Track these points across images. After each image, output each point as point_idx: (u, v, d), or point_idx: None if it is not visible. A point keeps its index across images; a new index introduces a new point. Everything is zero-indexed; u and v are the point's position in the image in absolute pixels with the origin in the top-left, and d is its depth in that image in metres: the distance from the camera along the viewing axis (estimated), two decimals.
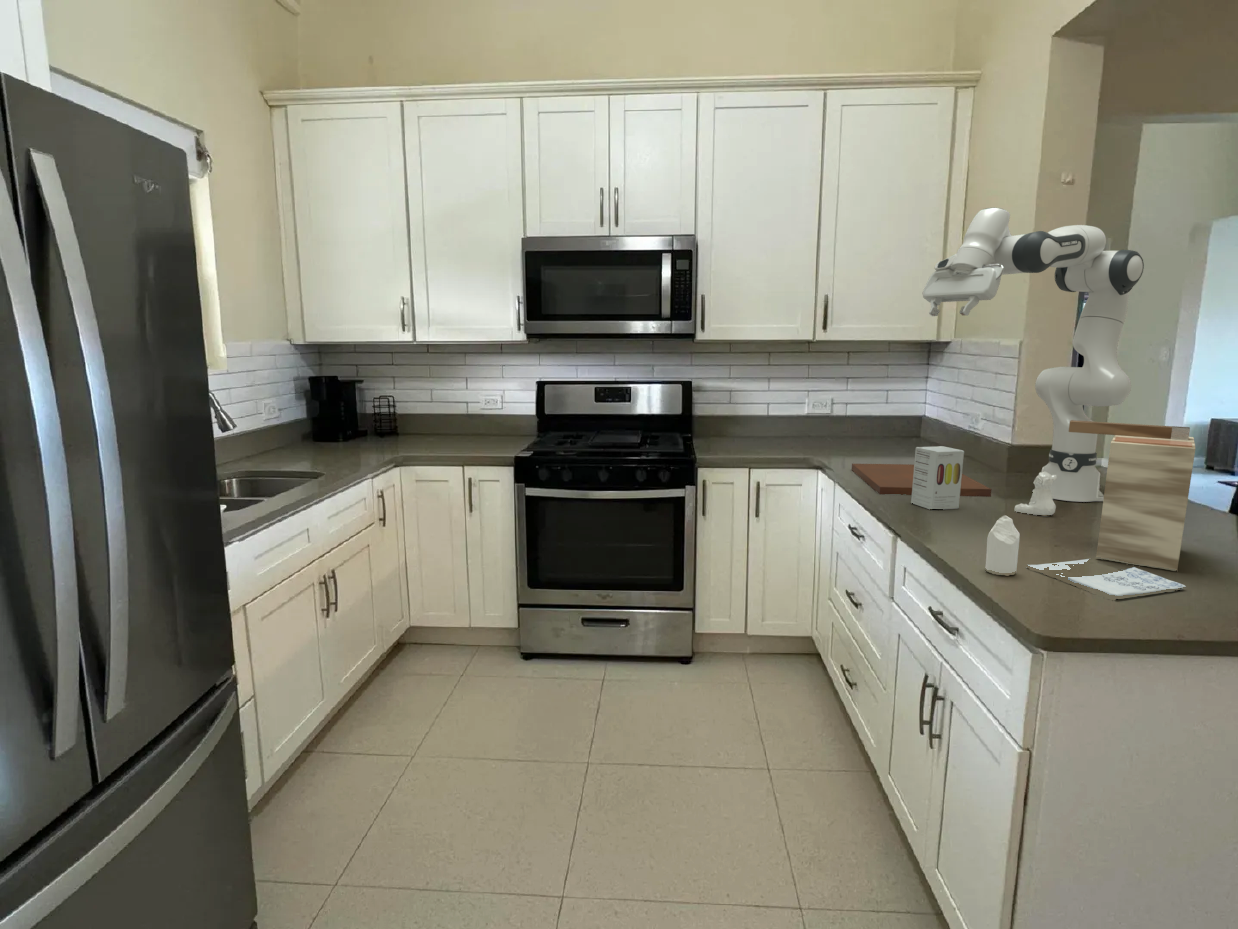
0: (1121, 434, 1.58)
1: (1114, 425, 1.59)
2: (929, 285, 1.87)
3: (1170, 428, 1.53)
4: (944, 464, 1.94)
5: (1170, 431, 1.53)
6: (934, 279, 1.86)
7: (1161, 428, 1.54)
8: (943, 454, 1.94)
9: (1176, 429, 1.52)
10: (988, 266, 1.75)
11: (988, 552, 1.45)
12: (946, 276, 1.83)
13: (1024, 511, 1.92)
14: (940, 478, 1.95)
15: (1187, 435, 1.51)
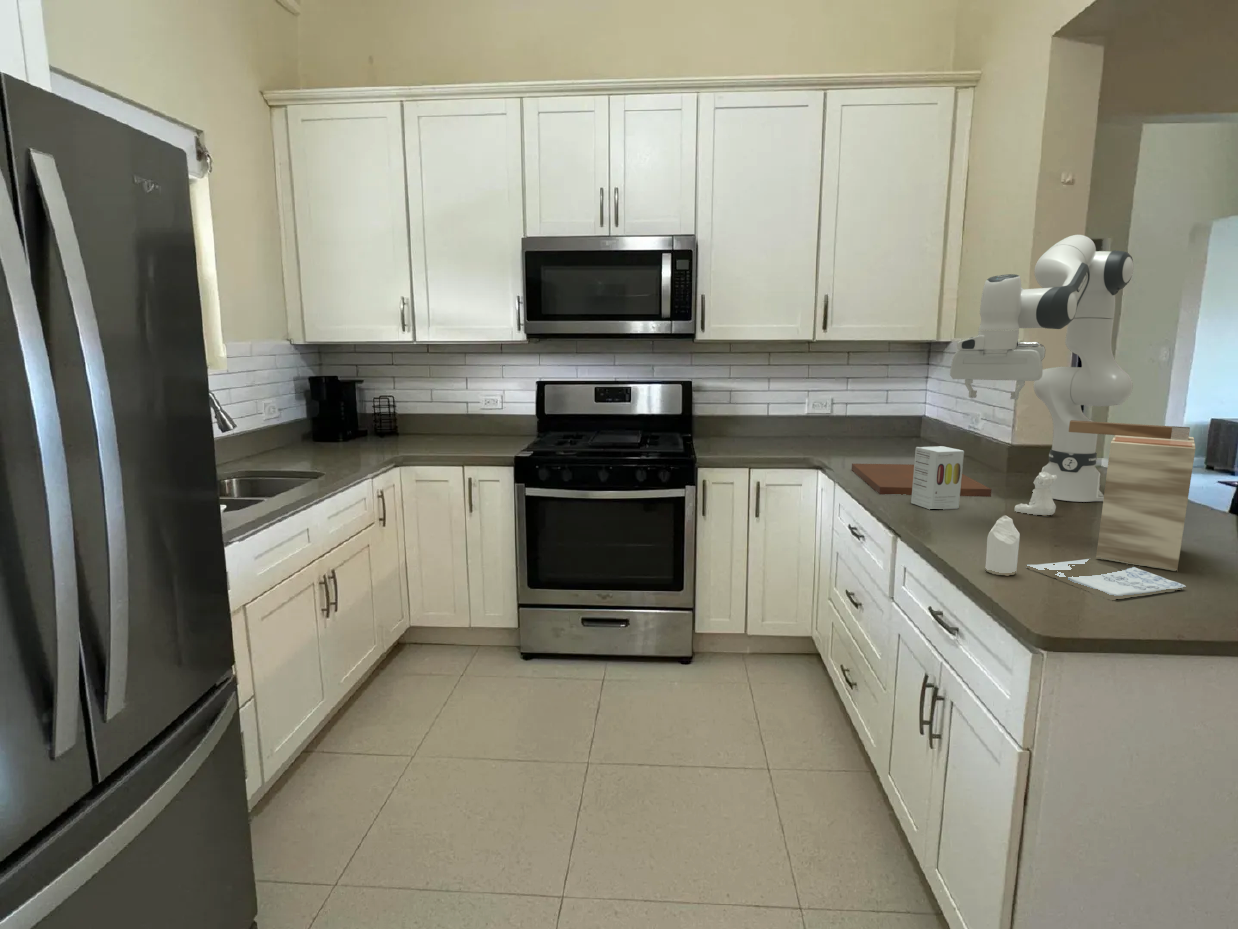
0: (1121, 434, 1.58)
1: (1114, 425, 1.59)
2: (956, 367, 1.77)
3: (1170, 428, 1.53)
4: (944, 464, 1.94)
5: (1170, 431, 1.53)
6: (960, 359, 1.76)
7: (1161, 428, 1.54)
8: (943, 454, 1.94)
9: (1176, 429, 1.52)
10: (1024, 345, 1.68)
11: (988, 552, 1.45)
12: (975, 356, 1.74)
13: (1024, 511, 1.92)
14: (940, 478, 1.95)
15: (1187, 435, 1.51)
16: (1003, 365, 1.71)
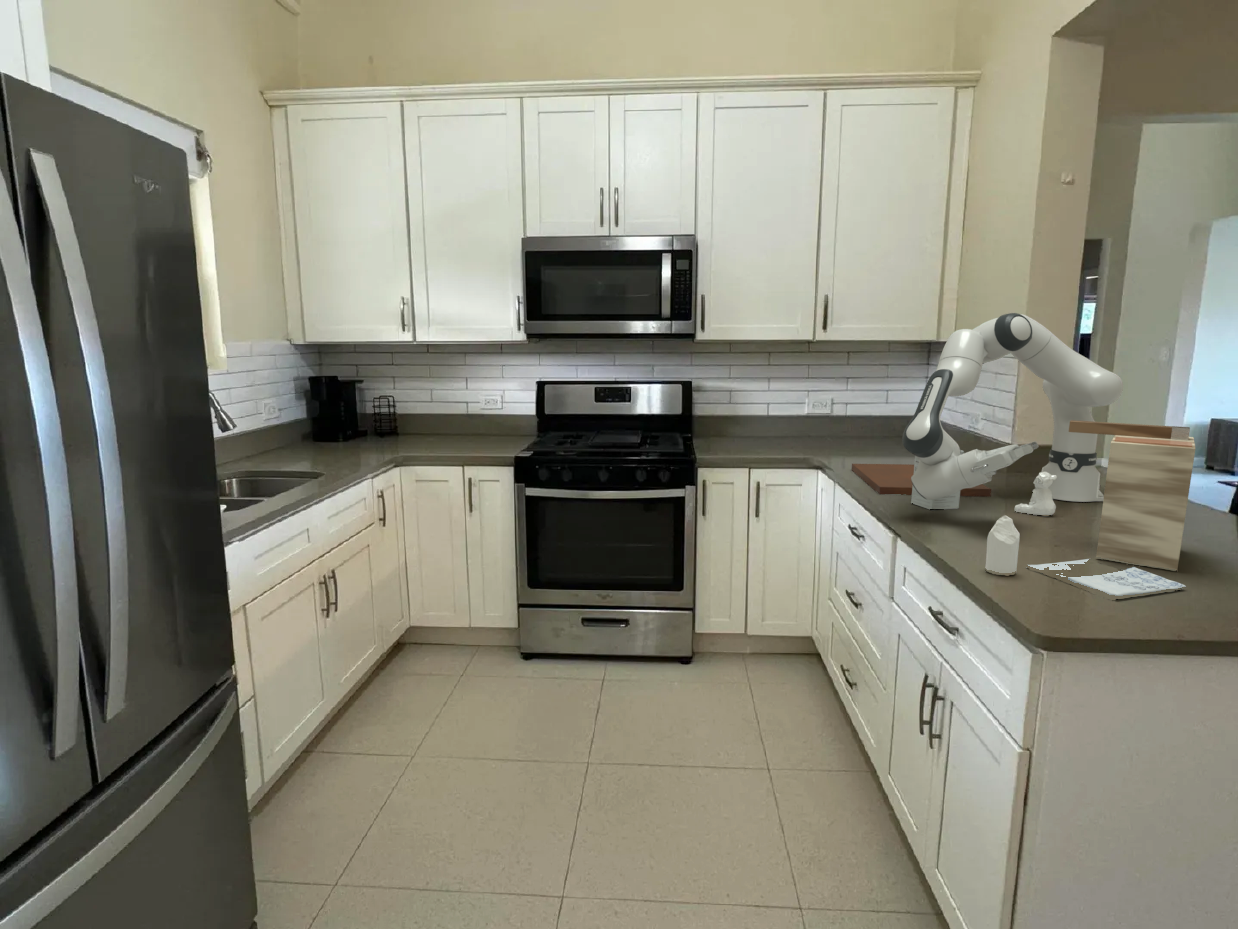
0: (1121, 434, 1.58)
1: (1114, 425, 1.59)
2: None
3: (1170, 428, 1.53)
4: None
5: (1170, 431, 1.53)
6: None
7: (1161, 428, 1.54)
8: None
9: (1176, 429, 1.52)
10: None
11: (988, 552, 1.45)
12: None
13: (1024, 511, 1.92)
14: None
15: (1187, 435, 1.51)
16: None
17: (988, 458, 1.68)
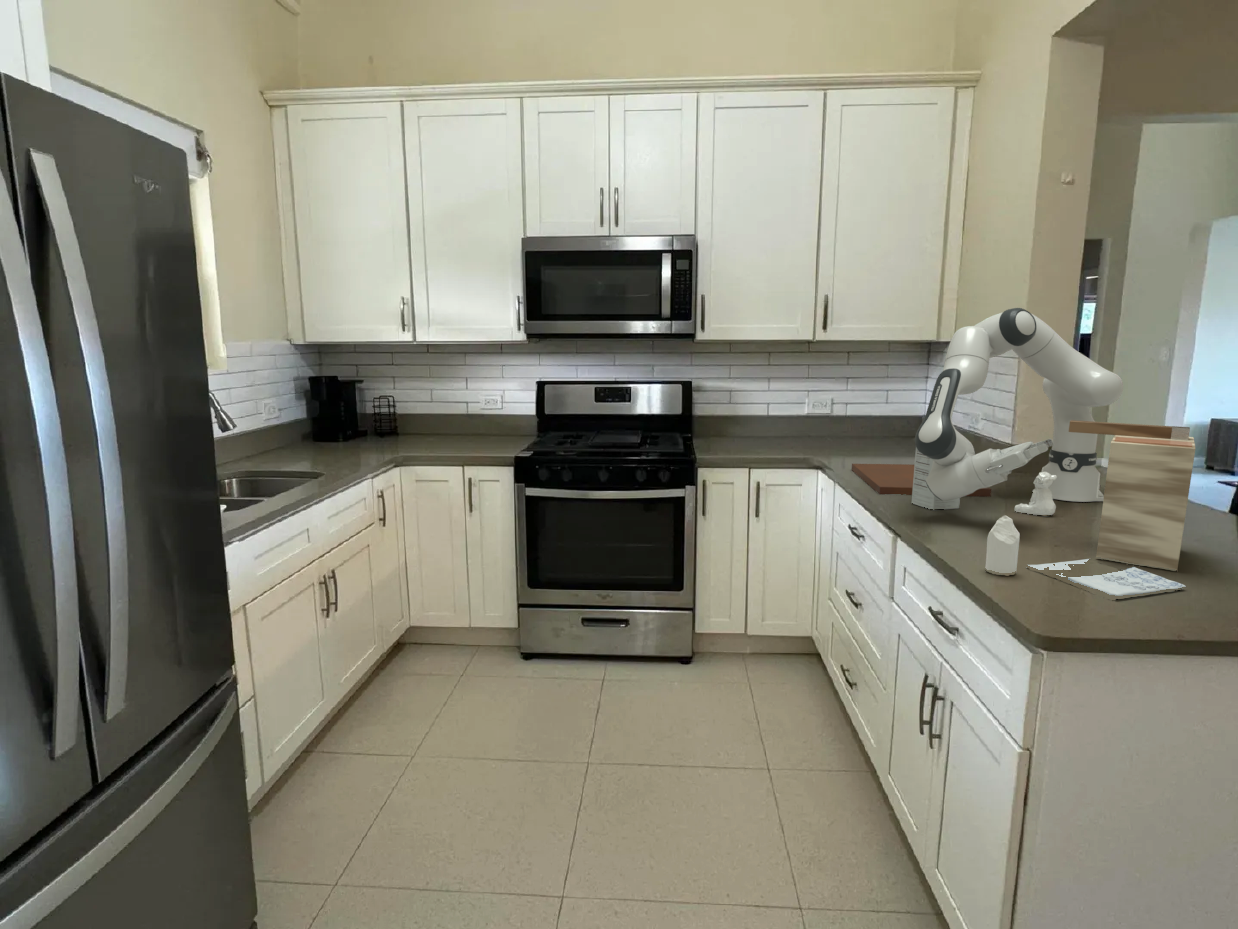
0: (1121, 434, 1.58)
1: (1114, 425, 1.59)
2: None
3: (1170, 428, 1.53)
4: None
5: (1170, 431, 1.53)
6: None
7: (1161, 428, 1.54)
8: None
9: (1176, 429, 1.52)
10: None
11: (988, 552, 1.45)
12: None
13: (1024, 511, 1.92)
14: None
15: (1187, 435, 1.51)
16: None
17: (1002, 458, 1.67)
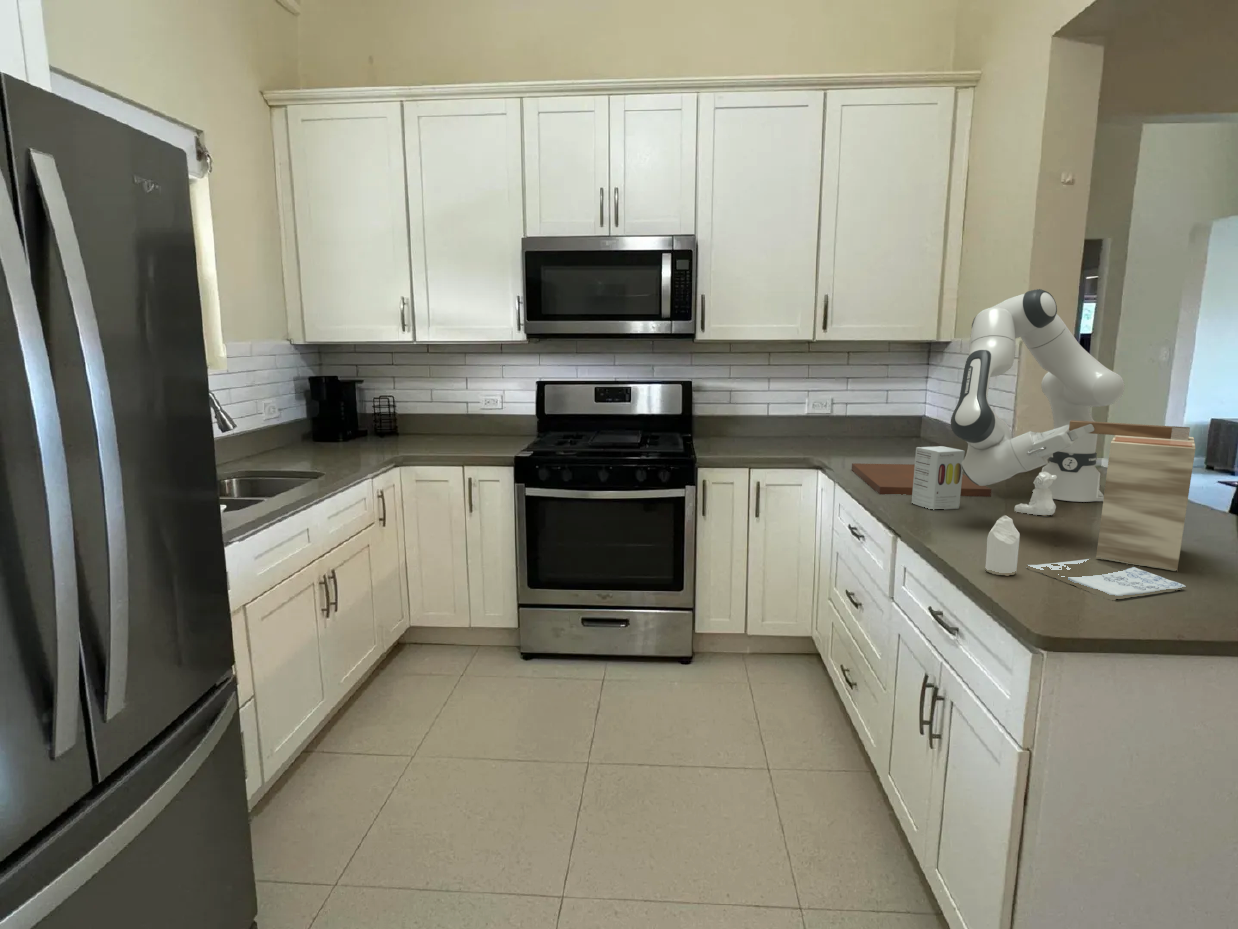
0: (1121, 434, 1.58)
1: (1114, 425, 1.59)
2: None
3: (1170, 428, 1.53)
4: (945, 464, 1.94)
5: (1170, 431, 1.53)
6: None
7: (1161, 428, 1.54)
8: (944, 454, 1.94)
9: (1176, 429, 1.52)
10: None
11: (988, 552, 1.45)
12: None
13: (1024, 511, 1.92)
14: (941, 478, 1.95)
15: (1187, 435, 1.51)
16: None
17: (1046, 440, 1.61)
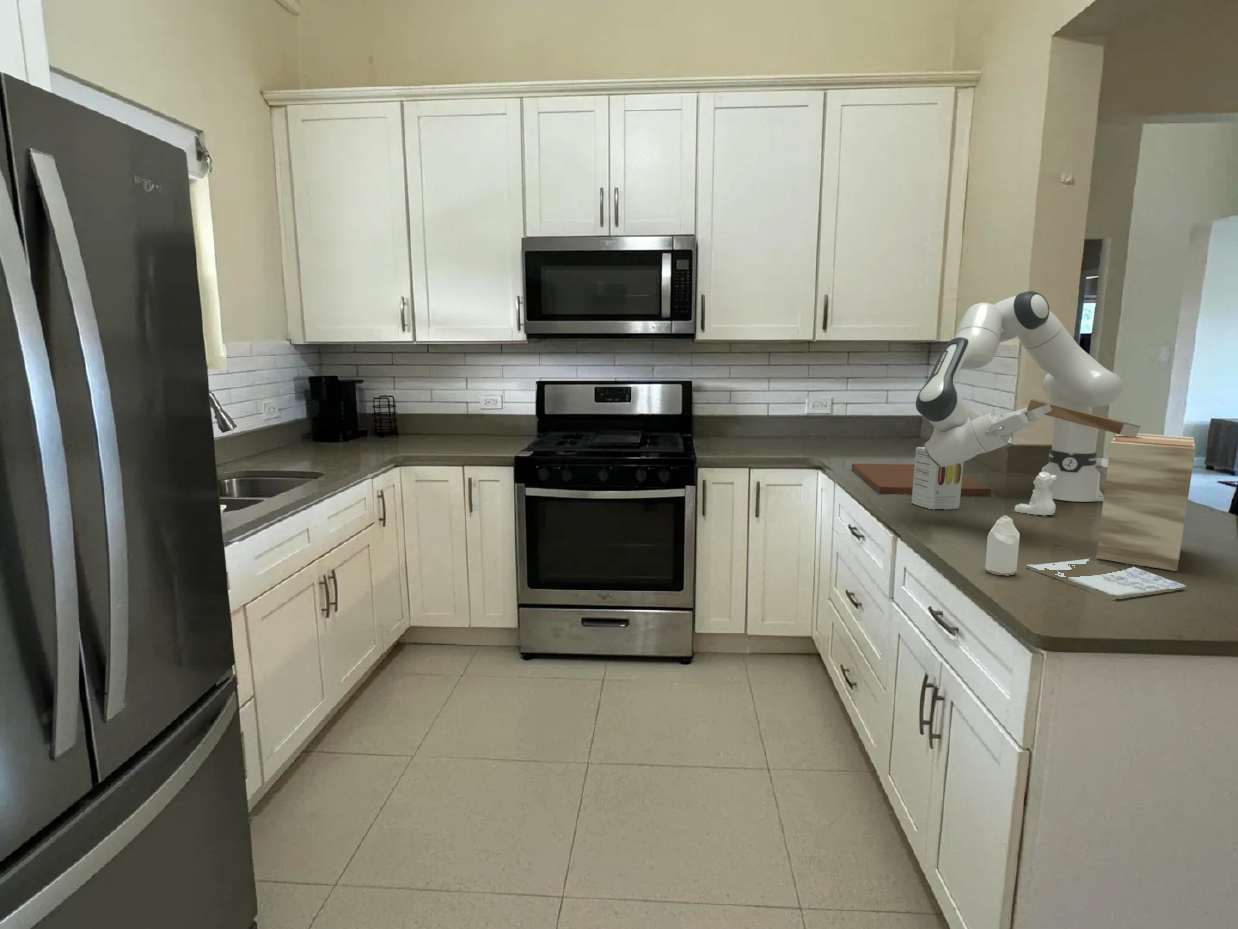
0: (1075, 421, 1.60)
1: (1071, 411, 1.60)
2: None
3: (1122, 424, 1.55)
4: None
5: (1121, 427, 1.55)
6: None
7: (1113, 422, 1.56)
8: None
9: (1127, 426, 1.54)
10: None
11: (988, 552, 1.45)
12: None
13: (1024, 511, 1.92)
14: (941, 478, 1.95)
15: (1136, 433, 1.53)
16: None
17: (1003, 420, 1.62)
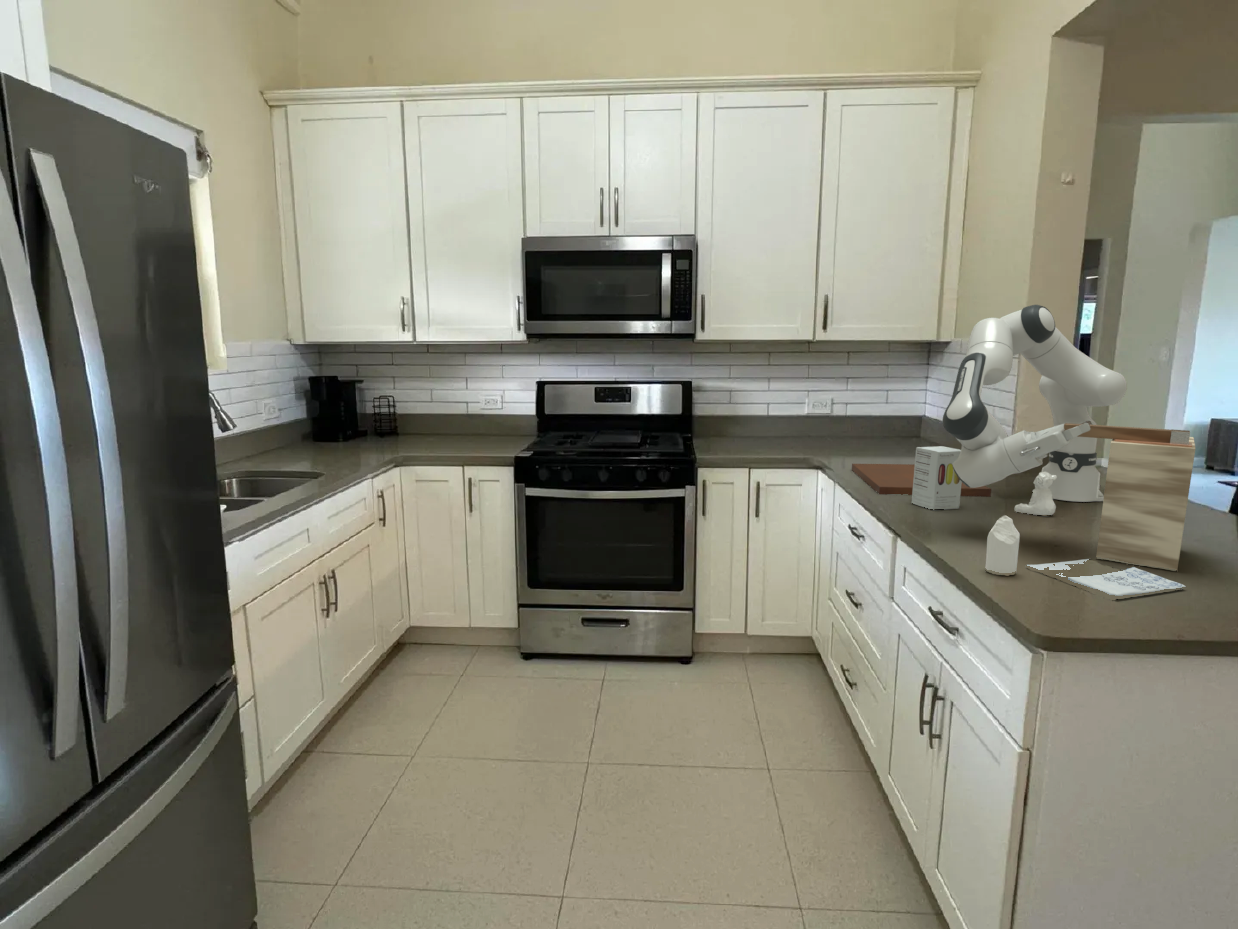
0: (1118, 438, 1.51)
1: (1110, 428, 1.51)
2: None
3: (1169, 431, 1.45)
4: (945, 464, 1.94)
5: (1169, 435, 1.45)
6: None
7: (1160, 431, 1.46)
8: (944, 454, 1.94)
9: (1176, 433, 1.44)
10: None
11: (988, 552, 1.45)
12: None
13: (1024, 511, 1.92)
14: (941, 478, 1.95)
15: (1187, 439, 1.43)
16: None
17: (1040, 440, 1.53)
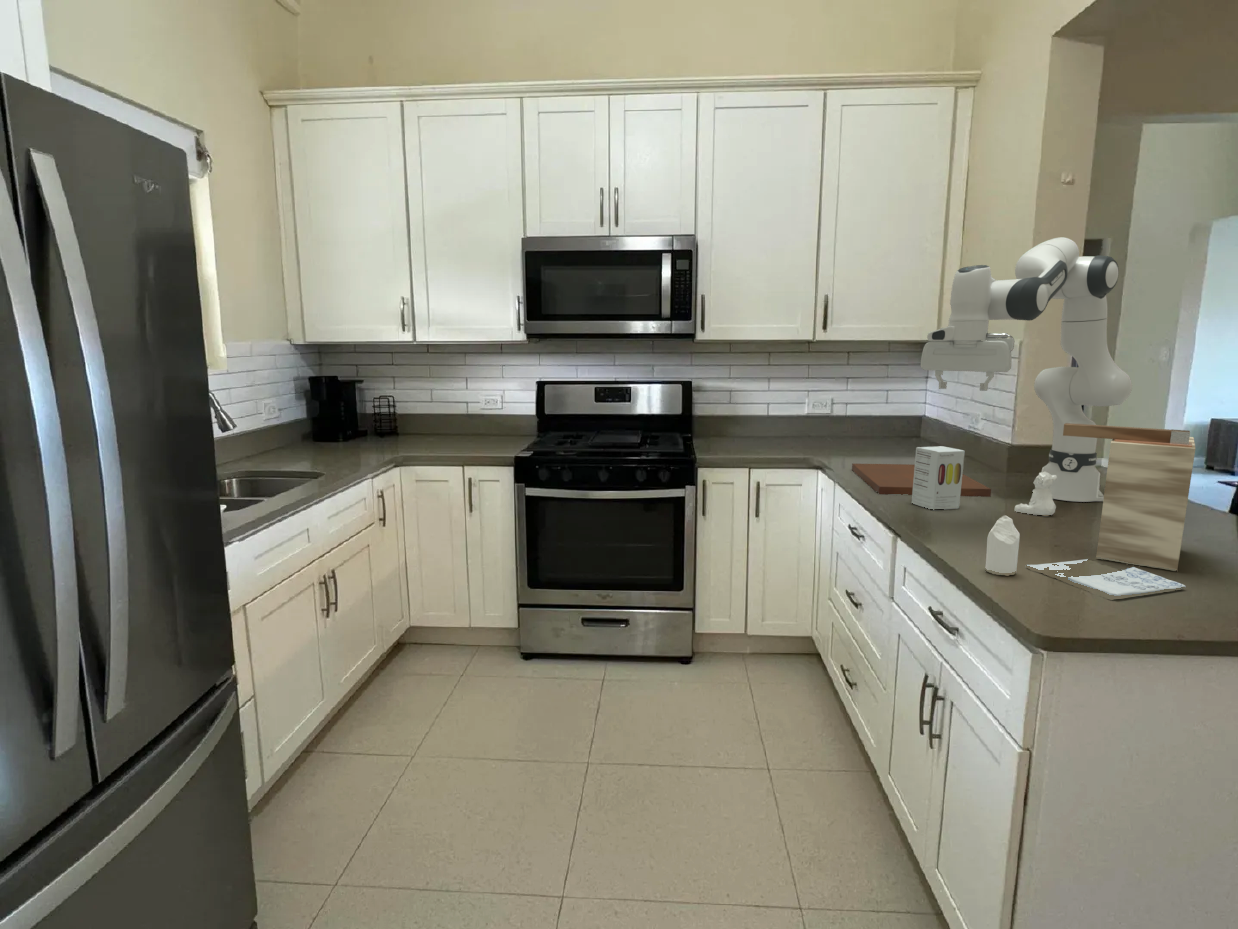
0: (1118, 438, 1.51)
1: (1110, 428, 1.51)
2: (926, 358, 1.76)
3: (1169, 431, 1.45)
4: (945, 464, 1.94)
5: (1169, 435, 1.45)
6: (930, 350, 1.76)
7: (1160, 431, 1.46)
8: (944, 454, 1.94)
9: (1176, 433, 1.44)
10: (994, 336, 1.68)
11: (988, 552, 1.45)
12: (945, 347, 1.73)
13: (1024, 511, 1.92)
14: (941, 478, 1.95)
15: (1187, 439, 1.43)
16: (972, 356, 1.70)
17: None
